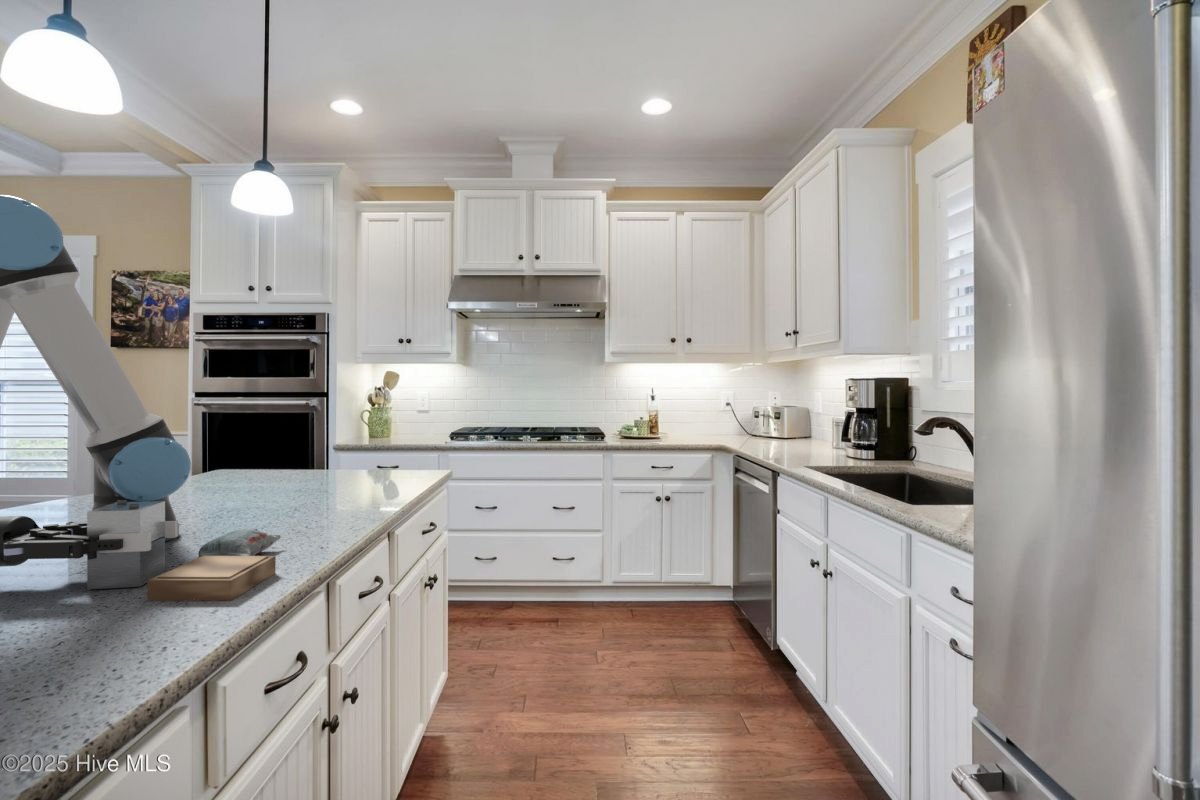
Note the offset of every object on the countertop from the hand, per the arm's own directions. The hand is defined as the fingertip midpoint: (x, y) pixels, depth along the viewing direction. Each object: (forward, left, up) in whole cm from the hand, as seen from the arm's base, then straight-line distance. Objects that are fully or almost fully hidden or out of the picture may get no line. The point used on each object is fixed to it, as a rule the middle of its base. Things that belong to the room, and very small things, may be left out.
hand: (163, 535), depth 89 cm
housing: (+1, -5, -7) cm, 9 cm away
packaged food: (-12, +5, -8) cm, 15 cm away
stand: (+3, +10, -7) cm, 13 cm away
